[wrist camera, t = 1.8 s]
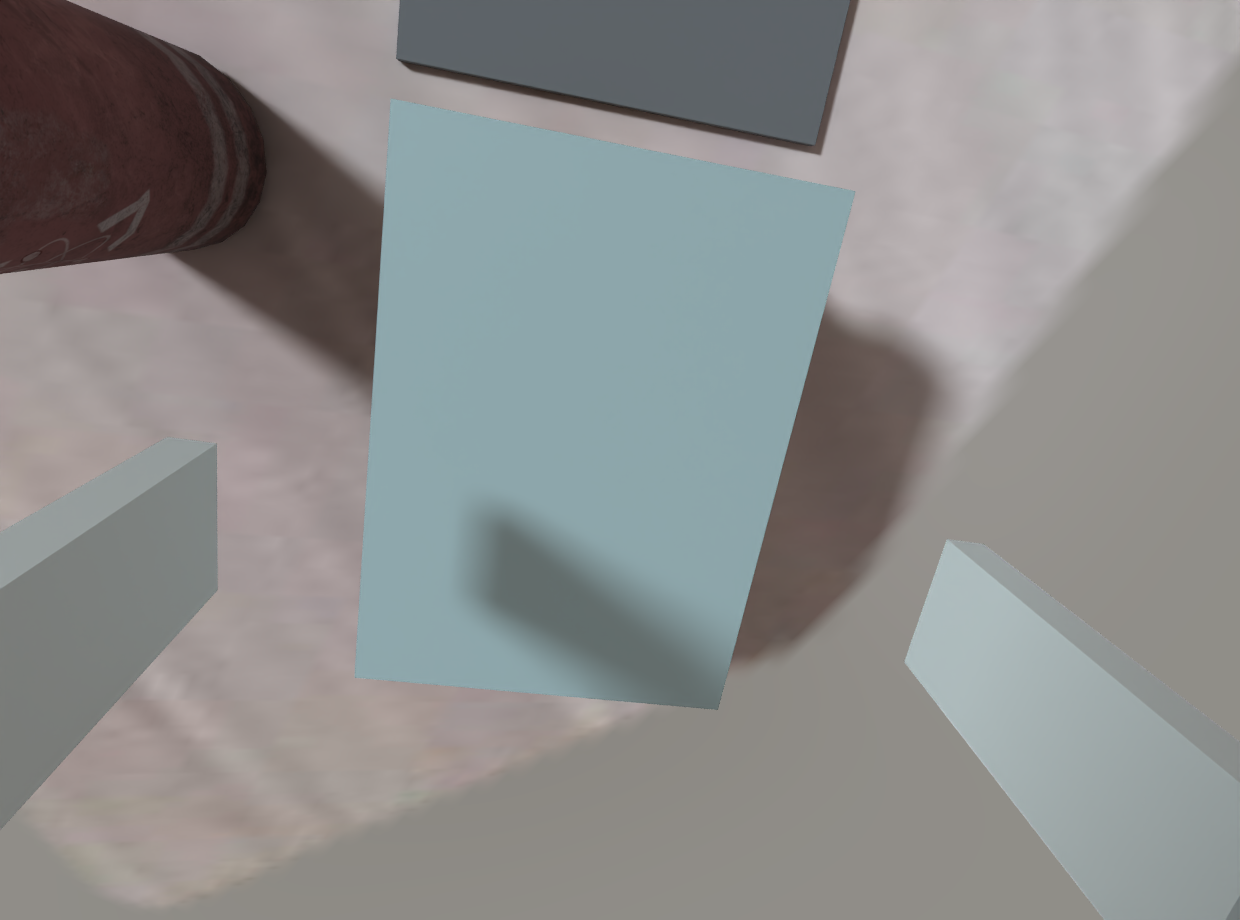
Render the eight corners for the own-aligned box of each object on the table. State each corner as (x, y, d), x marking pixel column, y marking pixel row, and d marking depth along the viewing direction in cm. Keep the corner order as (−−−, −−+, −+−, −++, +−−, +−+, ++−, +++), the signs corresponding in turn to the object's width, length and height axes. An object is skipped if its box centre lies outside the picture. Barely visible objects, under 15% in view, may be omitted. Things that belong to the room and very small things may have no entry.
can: (313, 133, 23) (-1, 41, 10) (210, 285, 25) (-185, 379, 11) (137, -11, 22) (-516, -346, 8) (37, 160, 23) (-665, 103, 10)
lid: (434, 126, 19) (391, 98, 14) (781, 194, 21) (855, 191, 16) (397, 575, 24) (354, 677, 19) (684, 606, 25) (717, 709, 20)
